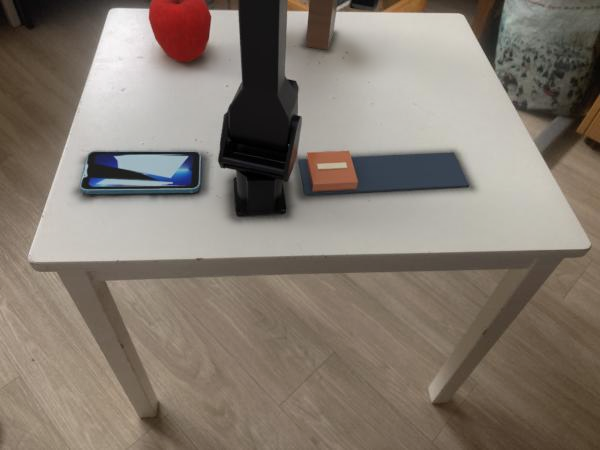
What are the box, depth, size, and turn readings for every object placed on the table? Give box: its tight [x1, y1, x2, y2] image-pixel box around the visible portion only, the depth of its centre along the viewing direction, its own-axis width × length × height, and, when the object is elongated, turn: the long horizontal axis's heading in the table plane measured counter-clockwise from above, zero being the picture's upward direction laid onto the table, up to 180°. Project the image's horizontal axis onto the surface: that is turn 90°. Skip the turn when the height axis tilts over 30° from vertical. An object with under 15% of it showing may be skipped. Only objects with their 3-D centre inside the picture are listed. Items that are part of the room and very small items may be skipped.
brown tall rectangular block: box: [305, 0, 339, 51], centre depth 84 cm, size 6×4×12 cm, turn 167°
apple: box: [148, 0, 212, 64], centre depth 78 cm, size 10×10×11 cm
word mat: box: [298, 151, 470, 197], centre depth 68 cm, size 23×7×1 cm, turn 98°
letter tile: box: [305, 150, 358, 192], centre depth 66 cm, size 6×6×2 cm
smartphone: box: [79, 150, 203, 195], centre depth 64 cm, size 7×1×15 cm
